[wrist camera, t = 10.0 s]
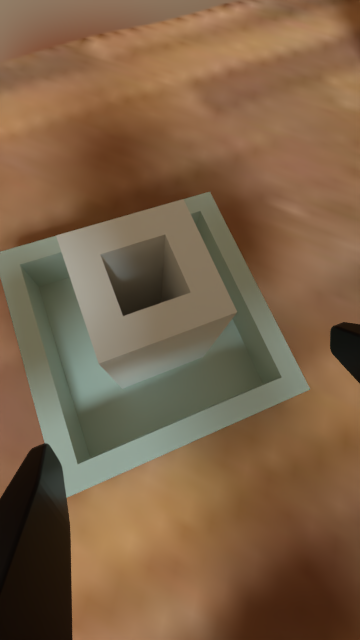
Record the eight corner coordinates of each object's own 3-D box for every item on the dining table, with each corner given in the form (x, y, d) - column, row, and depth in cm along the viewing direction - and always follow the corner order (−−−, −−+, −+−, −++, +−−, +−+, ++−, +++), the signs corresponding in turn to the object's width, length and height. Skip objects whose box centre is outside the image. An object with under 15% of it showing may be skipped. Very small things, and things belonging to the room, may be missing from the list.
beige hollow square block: (203, 356, 21) (237, 312, 12) (122, 388, 20) (98, 363, 11) (172, 284, 22) (183, 198, 14) (94, 310, 21) (55, 235, 13)
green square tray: (282, 395, 21) (310, 389, 18) (79, 484, 19) (60, 500, 15) (201, 226, 25) (209, 191, 21) (21, 282, 22) (-6, 253, 19)
